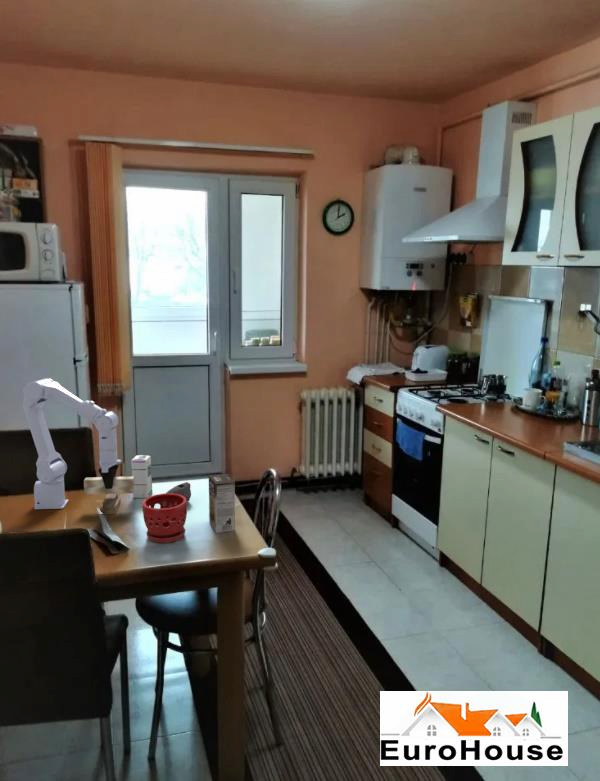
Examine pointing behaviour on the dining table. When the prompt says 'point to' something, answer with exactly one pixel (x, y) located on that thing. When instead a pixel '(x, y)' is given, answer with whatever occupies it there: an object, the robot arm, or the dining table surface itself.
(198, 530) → the dining table surface
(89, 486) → the metal bar
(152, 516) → the plant pot
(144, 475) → the syrup box
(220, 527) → the coffee box
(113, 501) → the walnut ridge
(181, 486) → the perforated stone tool
